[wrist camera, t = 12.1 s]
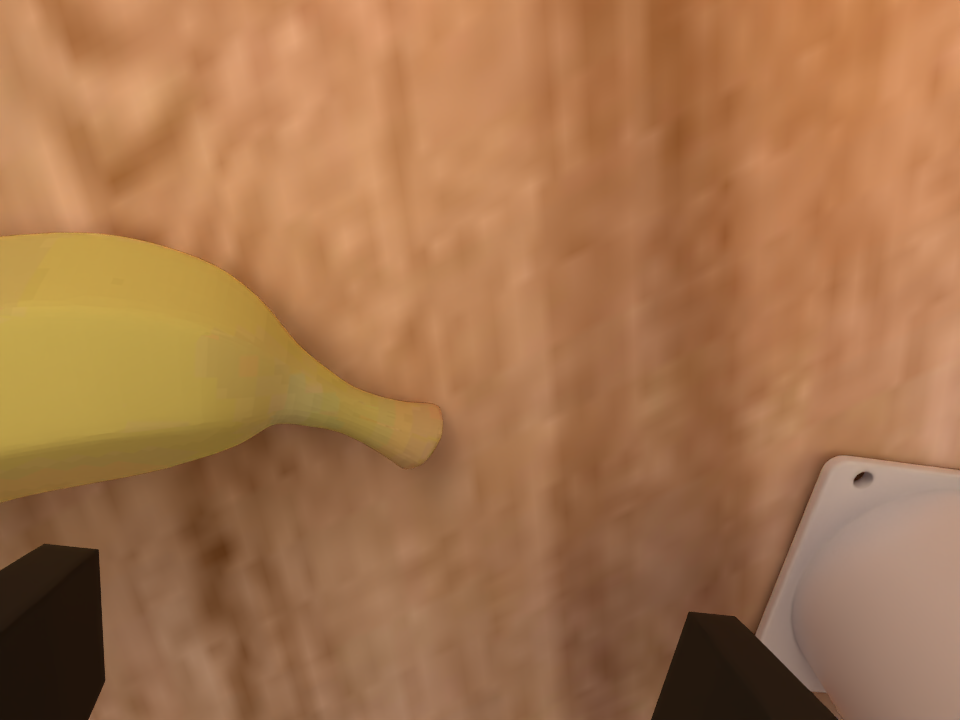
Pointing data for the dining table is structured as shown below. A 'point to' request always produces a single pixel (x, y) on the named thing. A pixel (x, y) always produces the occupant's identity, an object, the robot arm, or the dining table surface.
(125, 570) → the dining table surface
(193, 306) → the banana
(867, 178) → the dining table surface
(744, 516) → the dining table surface
